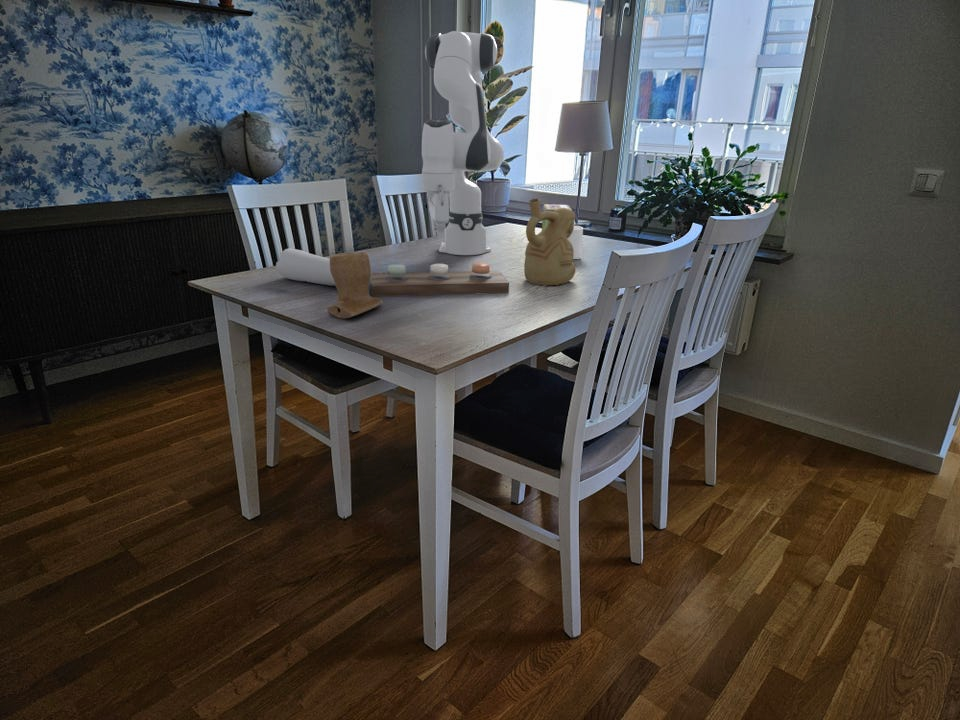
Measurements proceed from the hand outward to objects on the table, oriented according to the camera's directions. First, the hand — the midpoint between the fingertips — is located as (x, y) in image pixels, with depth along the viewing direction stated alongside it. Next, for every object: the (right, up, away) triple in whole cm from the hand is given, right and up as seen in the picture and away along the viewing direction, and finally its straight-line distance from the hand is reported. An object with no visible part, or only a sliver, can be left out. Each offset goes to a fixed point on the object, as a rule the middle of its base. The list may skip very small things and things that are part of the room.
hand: (438, 234), depth 174 cm
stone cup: (-21, -23, -16) cm, 35 cm away
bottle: (-34, -14, +6) cm, 37 cm away
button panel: (0, -14, +6) cm, 15 cm away
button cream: (0, -10, +4) cm, 11 cm away
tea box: (+40, +9, +66) cm, 78 cm away
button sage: (-12, -10, +2) cm, 16 cm away
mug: (+42, 0, +44) cm, 61 cm away
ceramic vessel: (+32, -11, +15) cm, 37 cm away
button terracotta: (+12, -9, +6) cm, 16 cm away
